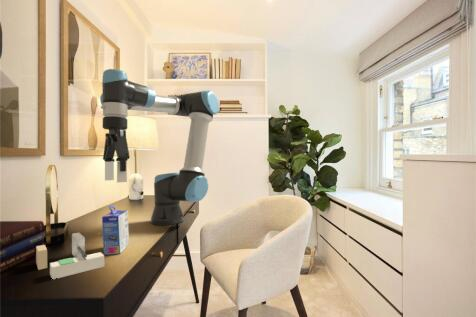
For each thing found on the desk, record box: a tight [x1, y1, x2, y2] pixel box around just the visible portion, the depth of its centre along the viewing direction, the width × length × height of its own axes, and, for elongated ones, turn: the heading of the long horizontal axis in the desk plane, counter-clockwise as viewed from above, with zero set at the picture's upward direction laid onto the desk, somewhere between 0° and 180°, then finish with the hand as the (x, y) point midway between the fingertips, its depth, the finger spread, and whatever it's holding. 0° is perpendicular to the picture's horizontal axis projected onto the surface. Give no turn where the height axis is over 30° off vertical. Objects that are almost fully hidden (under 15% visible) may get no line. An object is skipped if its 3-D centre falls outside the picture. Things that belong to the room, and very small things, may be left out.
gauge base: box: [35, 244, 105, 280], centre depth 75 cm, size 14×16×5 cm
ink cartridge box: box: [101, 204, 130, 256], centre depth 88 cm, size 10×6×14 cm, turn 7°
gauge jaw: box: [71, 232, 88, 258], centre depth 78 cm, size 2×17×6 cm, turn 41°
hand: (115, 181), depth 88 cm, fingers open, 13 cm apart
